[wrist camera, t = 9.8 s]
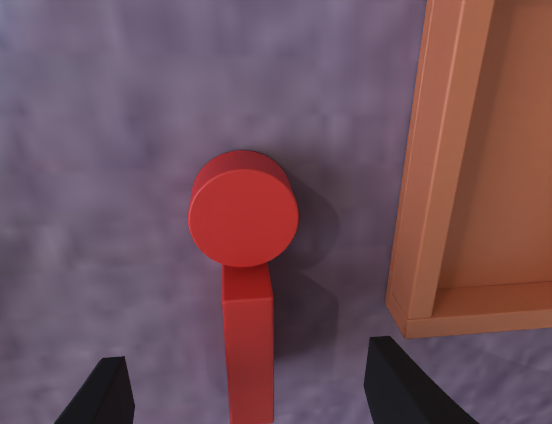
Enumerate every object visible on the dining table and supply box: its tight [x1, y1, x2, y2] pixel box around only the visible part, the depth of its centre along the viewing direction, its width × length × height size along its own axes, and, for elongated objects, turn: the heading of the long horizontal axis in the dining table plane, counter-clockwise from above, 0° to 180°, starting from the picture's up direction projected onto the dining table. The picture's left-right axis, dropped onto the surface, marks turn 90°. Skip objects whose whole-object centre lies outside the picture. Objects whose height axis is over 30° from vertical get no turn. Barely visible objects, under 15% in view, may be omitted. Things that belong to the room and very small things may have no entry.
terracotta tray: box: [385, 0, 552, 339], centre depth 12 cm, size 12×7×2 cm, turn 0°
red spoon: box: [188, 150, 299, 424], centre depth 13 cm, size 8×3×3 cm, turn 0°
